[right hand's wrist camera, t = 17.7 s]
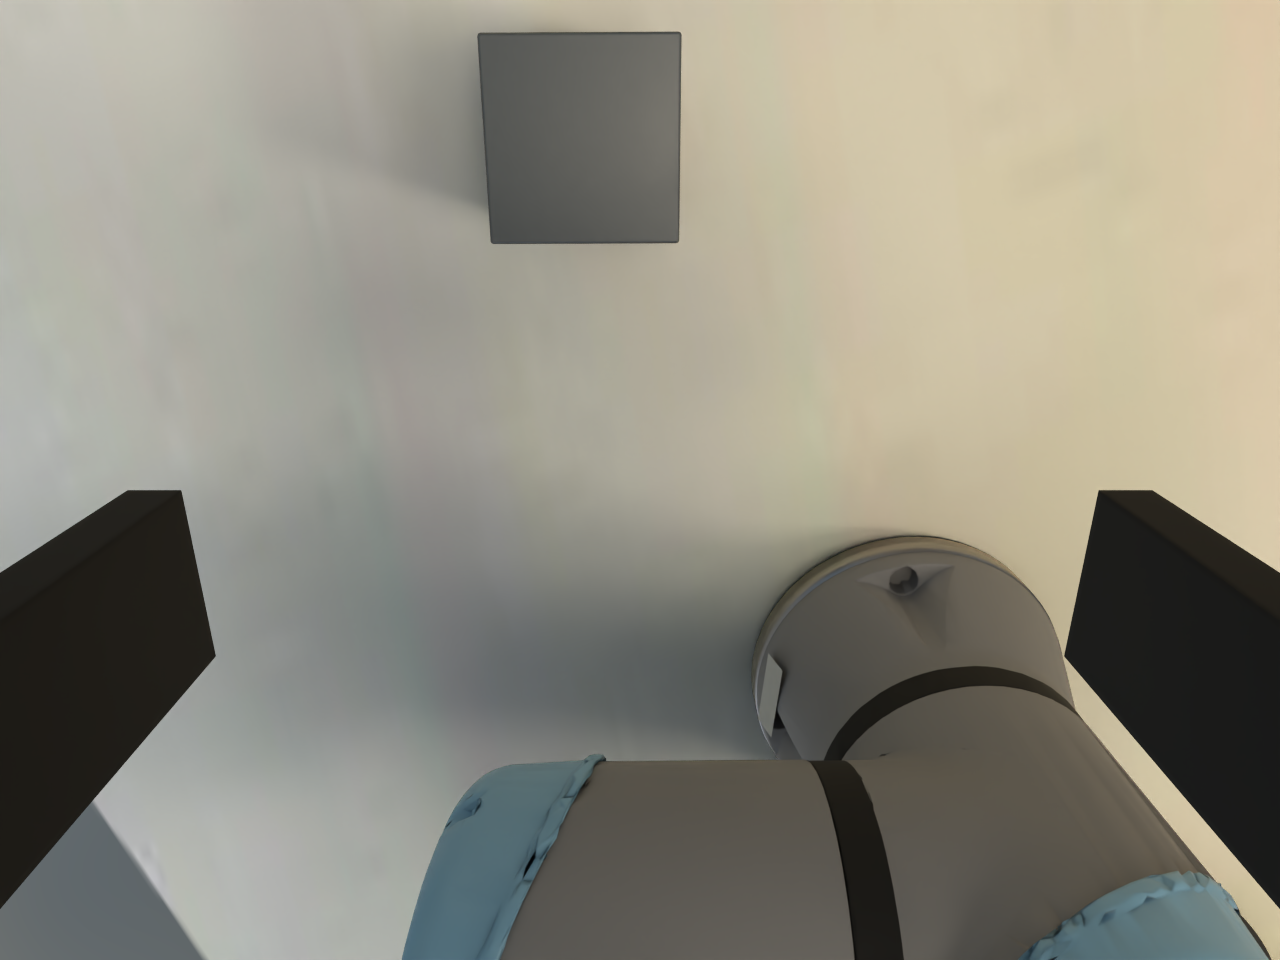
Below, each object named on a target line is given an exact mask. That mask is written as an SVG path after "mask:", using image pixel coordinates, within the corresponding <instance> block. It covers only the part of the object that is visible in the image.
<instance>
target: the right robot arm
mask: <svg viewBox="0 0 1280 960" xmlns="http://www.w3.org/2000/svg"><path fill="white" fill-rule="evenodd" d="M215 656H216V655H215V650H214V645H213V641H212V636H211V631H210V626H209V621H208V617H207V612H206V607H205V602H204V597H203V593H202V588H201V583H200V578H199V573H198V569H197V564H196V559H195V554H194V549H193V545H192V540H191V535H190V530H189V525H188V521H187V516H186V511H185V506H184V501H183V497H182V492H181V490H128V491H126V492H124V493H123V494H121V495H120V496H118V497H117V498H115V499H114V500H112V501H111V502H109V503H107V504H106V505H104V506H103V507H101V508H100V509H98V510H97V511H95V512H94V513H92V514H90V515H89V516H87V517H86V518H84V519H83V520H81V521H80V522H78V523H77V524H75V525H73V526H72V527H70V528H69V529H67V530H66V531H64V532H63V533H61V534H60V535H58V536H56V537H55V538H53V539H52V540H50V541H49V542H47V543H46V544H44V545H43V546H41V547H39V548H38V549H36V550H35V551H33V552H32V553H30V554H29V555H27V556H26V557H24V558H22V559H21V560H19V561H18V562H16V563H15V564H13V565H12V566H10V567H9V568H7V569H5V570H4V571H2V572H1V573H0V908H1V907H2V906H3V905H4V904H5V903H6V901H7V900H8V899H9V898H10V897H11V896H12V894H13V893H14V892H15V891H16V890H17V889H18V887H19V886H20V885H21V884H22V883H23V882H24V880H25V879H26V878H27V877H28V876H29V874H30V873H31V872H32V871H33V870H34V869H35V867H36V866H37V865H38V864H39V863H40V862H41V860H42V859H43V858H44V857H45V856H46V855H47V853H48V852H49V851H50V850H51V849H52V847H53V846H54V845H55V844H56V843H57V842H58V840H59V839H60V838H61V837H62V836H63V835H64V833H65V832H66V831H67V830H68V829H69V827H70V826H71V825H72V824H73V823H74V822H75V821H76V819H77V818H78V817H79V816H80V815H81V813H82V812H83V811H84V810H85V809H86V808H87V807H88V805H89V804H90V803H91V802H92V801H93V799H94V798H95V797H96V796H97V795H98V794H99V792H100V791H101V790H102V789H103V788H104V787H105V785H106V784H107V783H108V782H109V781H110V780H111V778H112V777H113V776H114V775H115V774H116V773H117V771H118V770H119V769H120V768H121V767H122V765H123V764H124V763H125V762H126V761H127V760H128V758H129V757H130V756H131V755H132V754H133V753H134V751H135V750H136V749H137V748H138V747H139V746H140V744H141V743H142V742H143V741H144V740H145V739H146V737H147V736H148V735H149V734H150V733H151V731H152V730H153V729H154V728H155V727H156V726H157V724H158V723H159V722H160V721H161V720H162V719H163V717H164V716H165V715H166V714H167V713H168V712H169V710H170V709H171V708H172V707H173V706H174V705H175V703H176V702H177V701H178V700H179V699H180V697H181V696H182V695H183V694H184V693H185V692H186V690H187V689H188V688H189V687H190V686H191V685H192V683H193V682H194V681H195V680H196V679H197V678H198V676H199V675H200V674H201V673H202V672H203V671H204V669H205V668H206V667H207V666H208V665H209V663H210V662H211V661H212V660H213V659H214V658H215ZM1064 656H1065V658H1066V659H1067V660H1068V661H1069V662H1070V663H1071V665H1072V666H1073V667H1074V668H1075V669H1076V671H1077V672H1078V673H1079V674H1080V675H1081V676H1082V678H1083V679H1084V680H1085V681H1086V682H1087V683H1088V685H1089V686H1090V687H1091V688H1092V689H1093V690H1094V692H1095V693H1096V694H1097V695H1098V696H1099V697H1100V699H1101V700H1102V701H1103V702H1104V703H1105V705H1106V706H1107V707H1108V708H1109V709H1110V710H1111V712H1112V713H1113V714H1114V715H1115V716H1116V717H1117V719H1118V720H1119V721H1120V722H1121V723H1122V724H1123V726H1124V727H1125V728H1126V729H1127V730H1128V731H1129V733H1130V734H1131V735H1132V736H1133V737H1134V739H1135V740H1136V741H1137V742H1138V743H1139V744H1140V746H1141V747H1142V748H1143V749H1144V750H1145V751H1146V753H1147V754H1148V755H1149V756H1150V757H1151V758H1152V760H1153V761H1154V762H1155V763H1156V764H1157V765H1158V767H1159V768H1160V769H1161V770H1162V771H1163V773H1164V774H1165V775H1166V776H1167V777H1168V778H1169V780H1170V781H1171V782H1172V783H1173V784H1174V785H1175V787H1176V788H1177V789H1178V790H1179V791H1180V792H1181V794H1182V795H1183V796H1184V797H1185V798H1186V799H1187V801H1188V802H1189V803H1190V804H1191V805H1192V807H1193V808H1194V809H1195V810H1196V811H1197V812H1198V814H1199V815H1200V816H1201V817H1202V818H1203V819H1204V821H1205V822H1206V823H1207V824H1208V825H1209V826H1210V828H1211V829H1212V830H1213V831H1214V832H1215V833H1216V835H1217V836H1218V837H1219V838H1220V839H1221V840H1222V842H1223V843H1224V844H1225V845H1226V846H1227V848H1228V849H1229V850H1230V851H1231V852H1232V853H1233V855H1234V856H1235V857H1236V858H1237V859H1238V860H1239V862H1240V863H1241V864H1242V865H1243V866H1244V867H1245V869H1246V870H1247V871H1248V872H1249V873H1250V874H1251V876H1252V877H1253V878H1254V879H1255V880H1256V882H1257V883H1258V884H1259V885H1260V886H1261V887H1262V889H1263V890H1264V891H1265V892H1266V893H1267V894H1268V896H1269V897H1270V898H1271V899H1272V900H1273V901H1274V903H1275V904H1276V905H1277V906H1278V907H1279V908H1280V573H1279V572H1278V571H1276V570H1275V569H1273V568H1271V567H1270V566H1268V565H1267V564H1265V563H1264V562H1262V561H1261V560H1259V559H1258V558H1256V557H1254V556H1253V555H1251V554H1250V553H1248V552H1247V551H1245V550H1244V549H1242V548H1241V547H1239V546H1237V545H1236V544H1234V543H1233V542H1231V541H1230V540H1228V539H1227V538H1225V537H1224V536H1222V535H1220V534H1219V533H1217V532H1216V531H1214V530H1213V529H1211V528H1210V527H1208V526H1207V525H1205V524H1203V523H1202V522H1200V521H1199V520H1197V519H1196V518H1194V517H1193V516H1191V515H1190V514H1188V513H1186V512H1185V511H1183V510H1182V509H1180V508H1179V507H1177V506H1176V505H1174V504H1173V503H1171V502H1169V501H1168V500H1166V499H1165V498H1163V497H1162V496H1160V495H1159V494H1157V493H1156V492H1154V491H1152V490H1099V492H1098V496H1097V501H1096V506H1095V511H1094V516H1093V521H1092V525H1091V530H1090V535H1089V540H1088V545H1087V549H1086V554H1085V559H1084V564H1083V569H1082V573H1081V578H1080V583H1079V588H1078V593H1077V597H1076V602H1075V607H1074V612H1073V617H1072V621H1071V626H1070V631H1069V636H1068V641H1067V645H1066V650H1065V655H1064ZM752 690H753V695H754V700H755V705H756V710H757V714H758V719H759V723H760V726H761V729H762V732H763V734H764V736H765V738H766V740H767V742H768V744H769V746H770V747H771V749H772V751H773V752H774V754H775V756H776V757H777V759H778V760H702V761H606V758H605V757H604V755H600V754H594V755H590V756H588V757H587V758H586V759H584V760H582V761H565V762H548V763H532V764H515V765H509V766H504V767H501V768H498V769H495V770H493V771H491V772H489V773H487V774H486V775H484V776H483V777H481V778H480V779H479V780H478V781H477V782H475V783H474V784H473V785H472V786H471V788H470V789H469V790H468V791H467V792H466V793H465V794H464V795H463V797H462V798H461V800H460V801H459V803H458V804H457V806H456V807H455V809H454V810H453V812H452V814H451V816H450V818H449V820H448V822H447V824H446V826H445V829H444V831H443V833H442V835H441V837H440V839H439V841H438V844H437V846H436V849H435V851H434V854H433V856H432V859H431V862H430V864H429V867H428V870H427V873H426V876H425V878H424V881H423V884H422V887H421V890H420V894H419V897H418V900H417V904H416V907H415V910H414V914H413V918H412V921H411V925H410V929H409V932H408V936H407V940H406V944H405V948H404V952H403V957H402V960H1271V958H1270V956H1269V954H1268V951H1267V949H1266V948H1265V946H1264V944H1263V943H1262V941H1261V940H1260V938H1259V937H1258V935H1257V934H1256V932H1255V931H1254V930H1253V929H1252V927H1251V926H1250V925H1249V924H1248V923H1247V921H1246V920H1245V919H1244V918H1243V917H1242V916H1241V915H1240V912H1239V909H1238V907H1237V905H1236V903H1235V901H1234V900H1233V898H1232V896H1231V895H1230V894H1229V893H1228V892H1227V891H1226V890H1224V889H1223V888H1222V887H1221V883H1217V882H1216V881H1215V880H1214V879H1213V877H1212V876H1211V875H1210V874H1209V873H1208V871H1207V870H1206V869H1205V868H1204V867H1203V865H1202V864H1201V863H1200V862H1199V860H1198V859H1197V858H1196V857H1195V856H1194V854H1193V853H1192V852H1191V851H1190V849H1189V848H1188V847H1187V846H1186V845H1185V843H1184V842H1183V841H1182V840H1181V838H1180V837H1179V836H1178V835H1177V834H1176V832H1175V831H1174V830H1173V829H1172V828H1171V826H1170V825H1169V824H1168V823H1167V821H1166V820H1165V819H1164V818H1163V817H1162V815H1161V814H1160V813H1159V812H1158V810H1157V809H1156V808H1155V807H1154V806H1153V804H1152V803H1151V802H1150V801H1149V800H1148V798H1147V797H1146V796H1145V795H1144V793H1143V792H1142V791H1141V790H1140V789H1139V787H1138V786H1137V785H1136V784H1135V782H1134V781H1133V780H1132V779H1131V778H1130V776H1129V775H1128V774H1127V773H1126V771H1125V770H1124V769H1123V768H1122V767H1121V765H1120V764H1119V763H1118V762H1117V761H1116V759H1115V758H1114V757H1113V756H1112V754H1111V753H1110V752H1109V751H1108V750H1107V748H1106V747H1105V746H1104V745H1103V743H1102V742H1101V741H1100V740H1099V739H1098V737H1097V736H1096V735H1095V734H1094V732H1093V731H1092V730H1091V729H1090V728H1089V726H1088V725H1087V724H1086V723H1085V722H1084V721H1083V719H1082V718H1081V717H1080V716H1079V714H1078V713H1077V712H1076V710H1075V706H1074V702H1073V698H1072V694H1071V689H1070V685H1069V681H1068V677H1067V673H1066V669H1065V665H1064V661H1063V657H1062V652H1061V648H1060V644H1059V640H1058V637H1057V635H1056V632H1055V630H1054V627H1053V625H1052V623H1051V620H1050V618H1049V616H1048V614H1047V613H1046V611H1045V609H1044V608H1043V606H1042V605H1041V603H1040V602H1039V601H1038V600H1037V598H1036V597H1035V596H1034V594H1033V593H1032V592H1031V591H1030V590H1029V589H1028V588H1027V587H1026V586H1025V585H1024V583H1023V582H1022V581H1021V580H1020V579H1019V578H1018V577H1017V576H1016V575H1015V574H1014V573H1013V572H1012V571H1011V570H1010V569H1008V568H1007V567H1006V566H1005V565H1003V564H1002V563H1001V562H999V561H998V560H996V559H995V558H993V557H991V556H990V555H988V554H986V553H984V552H982V551H980V550H978V549H976V548H973V547H970V546H967V545H965V544H962V543H958V542H954V541H950V540H945V539H939V538H930V537H900V538H891V539H885V540H880V541H875V542H871V543H867V544H864V545H860V546H857V547H855V548H852V549H849V550H847V551H844V552H842V553H840V554H838V555H836V556H834V557H832V558H830V559H828V560H826V561H825V562H823V563H821V564H820V565H818V566H816V567H815V568H814V569H812V570H811V571H810V572H808V573H807V574H805V575H804V576H803V577H802V578H801V579H800V580H798V581H797V582H796V583H795V584H794V585H793V586H792V587H791V588H790V589H789V590H788V591H787V592H786V593H785V594H784V595H783V597H782V598H781V599H780V600H779V602H778V603H777V604H776V606H775V607H774V608H773V610H772V612H771V613H770V615H769V616H768V618H767V620H766V622H765V624H764V626H763V628H762V630H761V632H760V635H759V638H758V640H757V643H756V647H755V651H754V655H753V663H752Z"/></svg>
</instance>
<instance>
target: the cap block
mask: <svg viewBox="0 0 1280 960" xmlns="http://www.w3.org/2000/svg"><path fill="white" fill-rule="evenodd" d="M477 38H478V53H479V68H480V83H481V99H482V114H483V129H484V145H485V160H486V175H487V190H488V206H489V221H490V236H491V243H493V244H593V243H678V242H679V201H680V113H681V33H680V32H534V33H479V34H478V36H477Z"/></svg>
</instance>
